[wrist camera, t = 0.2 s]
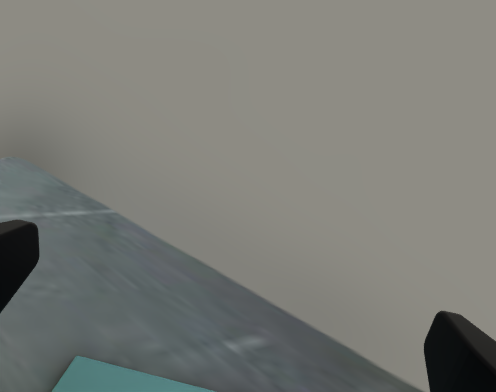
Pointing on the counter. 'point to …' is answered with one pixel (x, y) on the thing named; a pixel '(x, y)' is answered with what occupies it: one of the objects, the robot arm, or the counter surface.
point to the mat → (115, 379)
